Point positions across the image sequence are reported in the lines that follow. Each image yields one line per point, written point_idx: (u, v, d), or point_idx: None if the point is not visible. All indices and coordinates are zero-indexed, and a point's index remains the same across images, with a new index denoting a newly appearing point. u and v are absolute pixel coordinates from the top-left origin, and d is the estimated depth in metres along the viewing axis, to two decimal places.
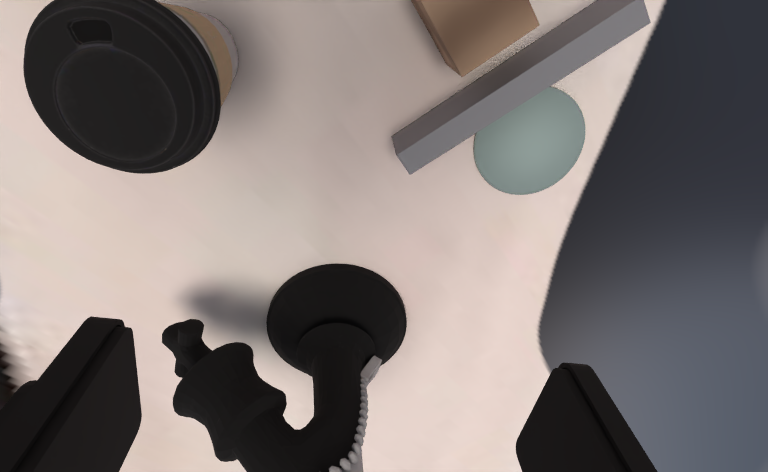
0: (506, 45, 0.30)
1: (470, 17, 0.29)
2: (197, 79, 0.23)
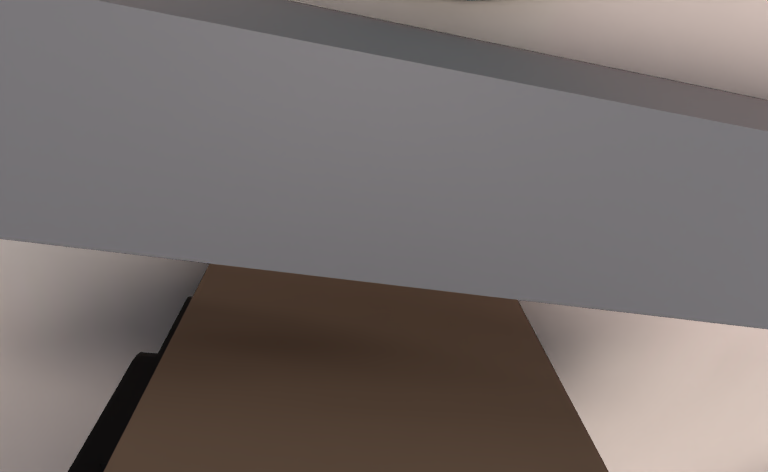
0: None
1: None
2: None
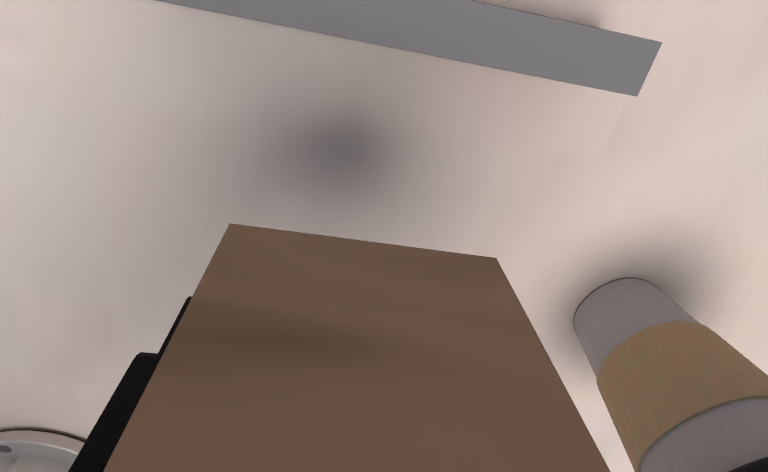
0: None
1: None
2: None
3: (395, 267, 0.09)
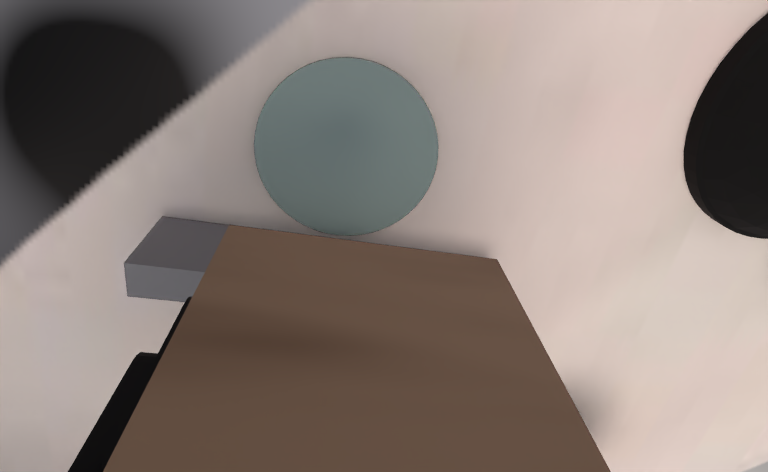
0: None
1: None
2: None
3: (395, 269, 0.09)
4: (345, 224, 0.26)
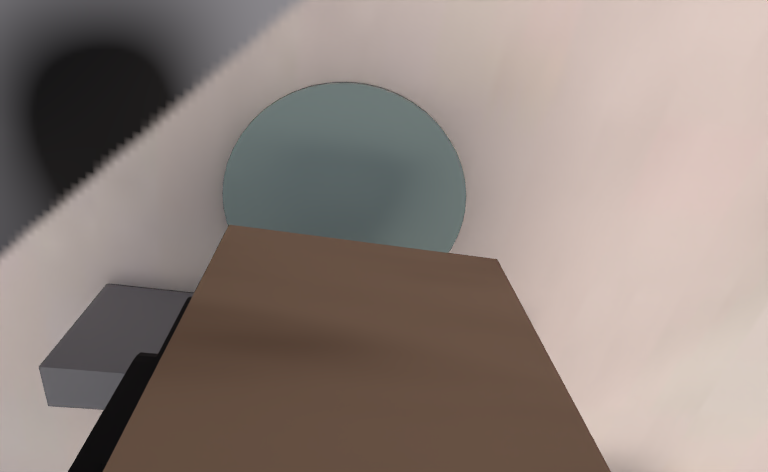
0: None
1: None
2: None
3: (395, 268, 0.09)
4: None
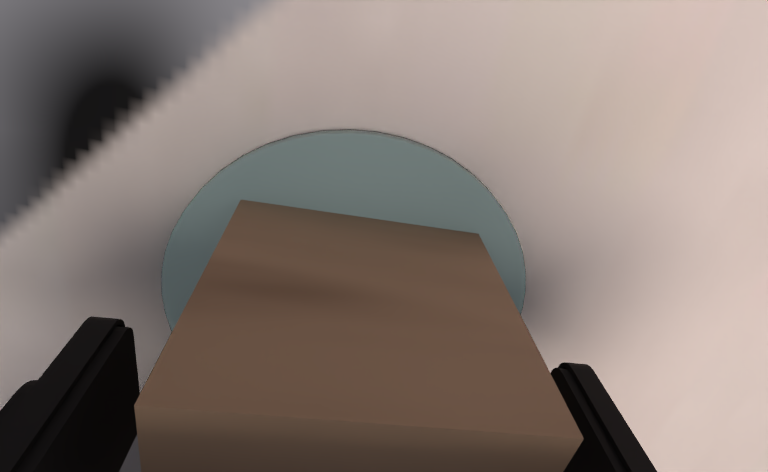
0: (333, 424, 0.06)
1: None
2: None
3: (387, 238, 0.10)
4: None
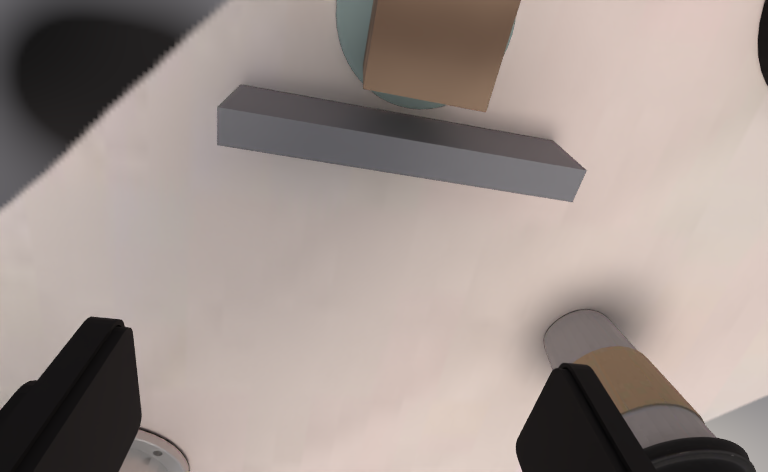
0: None
1: (458, 36, 0.20)
2: None
3: None
4: None
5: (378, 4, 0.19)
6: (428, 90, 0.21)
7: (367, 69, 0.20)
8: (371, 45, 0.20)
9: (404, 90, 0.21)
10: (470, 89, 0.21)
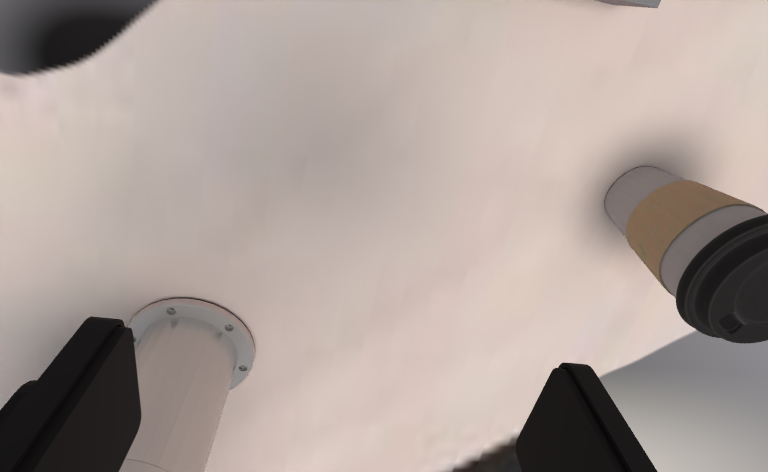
0: None
1: None
2: (727, 257, 0.27)
3: None
4: None
5: None
6: None
7: None
8: None
9: None
10: None
